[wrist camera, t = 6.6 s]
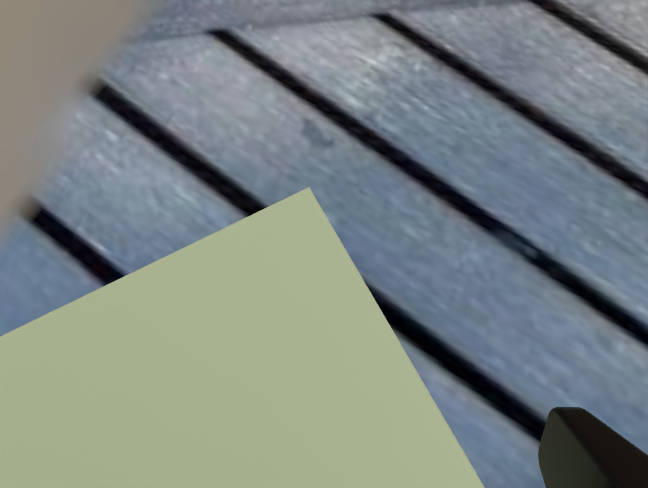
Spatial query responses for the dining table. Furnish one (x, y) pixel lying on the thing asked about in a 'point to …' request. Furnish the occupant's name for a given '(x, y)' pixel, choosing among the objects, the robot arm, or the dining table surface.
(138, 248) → the dining table surface
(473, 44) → the dining table surface
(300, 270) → the sage post
